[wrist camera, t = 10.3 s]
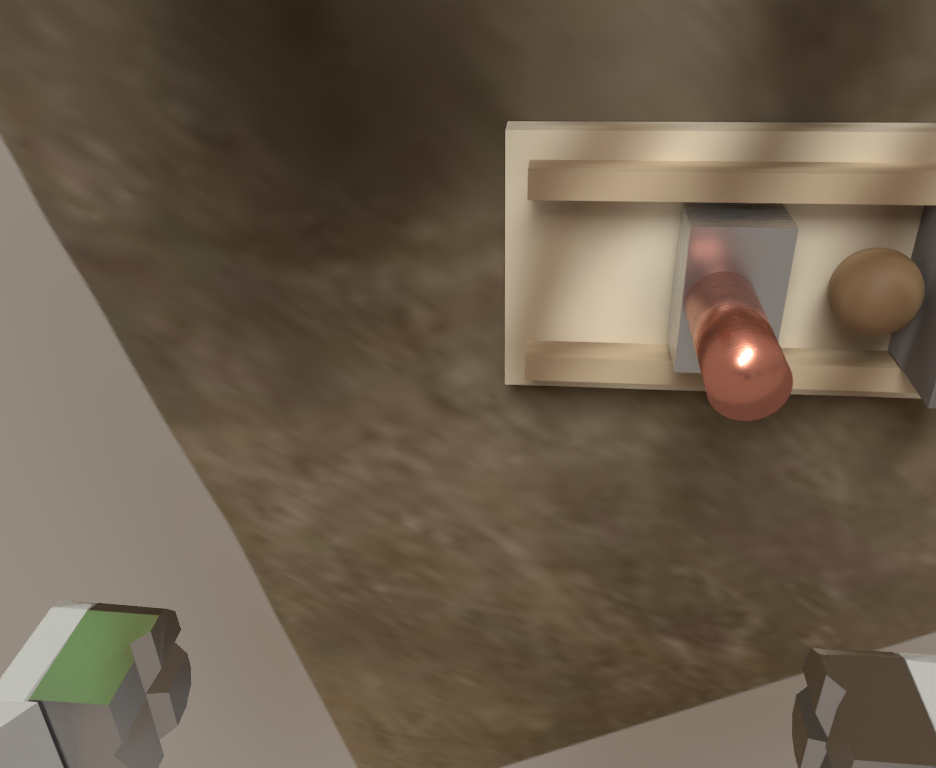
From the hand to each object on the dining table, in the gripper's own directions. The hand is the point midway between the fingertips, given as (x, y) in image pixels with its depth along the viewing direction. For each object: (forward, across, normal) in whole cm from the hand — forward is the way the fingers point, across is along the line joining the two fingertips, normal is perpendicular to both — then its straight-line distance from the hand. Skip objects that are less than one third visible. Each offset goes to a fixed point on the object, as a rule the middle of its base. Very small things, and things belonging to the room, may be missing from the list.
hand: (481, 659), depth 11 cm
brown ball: (+28, -14, +6) cm, 31 cm away
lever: (+27, -8, +6) cm, 29 cm away
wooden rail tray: (+29, -9, +6) cm, 31 cm away
